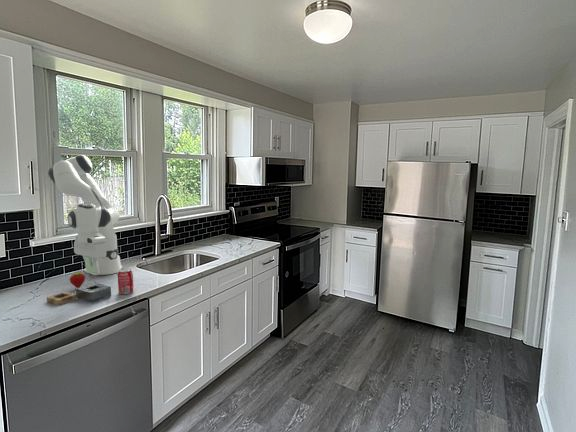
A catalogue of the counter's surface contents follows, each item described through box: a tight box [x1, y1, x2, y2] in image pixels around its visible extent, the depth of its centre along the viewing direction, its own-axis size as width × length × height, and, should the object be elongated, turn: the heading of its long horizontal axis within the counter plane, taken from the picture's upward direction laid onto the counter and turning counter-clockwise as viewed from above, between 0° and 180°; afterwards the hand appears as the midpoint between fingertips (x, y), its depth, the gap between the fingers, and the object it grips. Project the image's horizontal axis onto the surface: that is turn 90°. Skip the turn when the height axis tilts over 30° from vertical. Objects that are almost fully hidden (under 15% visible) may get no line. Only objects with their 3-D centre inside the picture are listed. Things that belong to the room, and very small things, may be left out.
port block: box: [75, 282, 112, 304], centre depth 164 cm, size 12×10×5 cm
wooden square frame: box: [46, 290, 77, 306], centre depth 159 cm, size 9×9×2 cm
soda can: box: [117, 268, 134, 295], centre depth 171 cm, size 7×7×12 cm
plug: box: [84, 256, 96, 274], centre depth 162 cm, size 3×3×9 cm
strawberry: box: [69, 271, 86, 288], centre depth 175 cm, size 6×8×10 cm
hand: (90, 265), depth 162 cm, fingers closed on plug, 3 cm apart
